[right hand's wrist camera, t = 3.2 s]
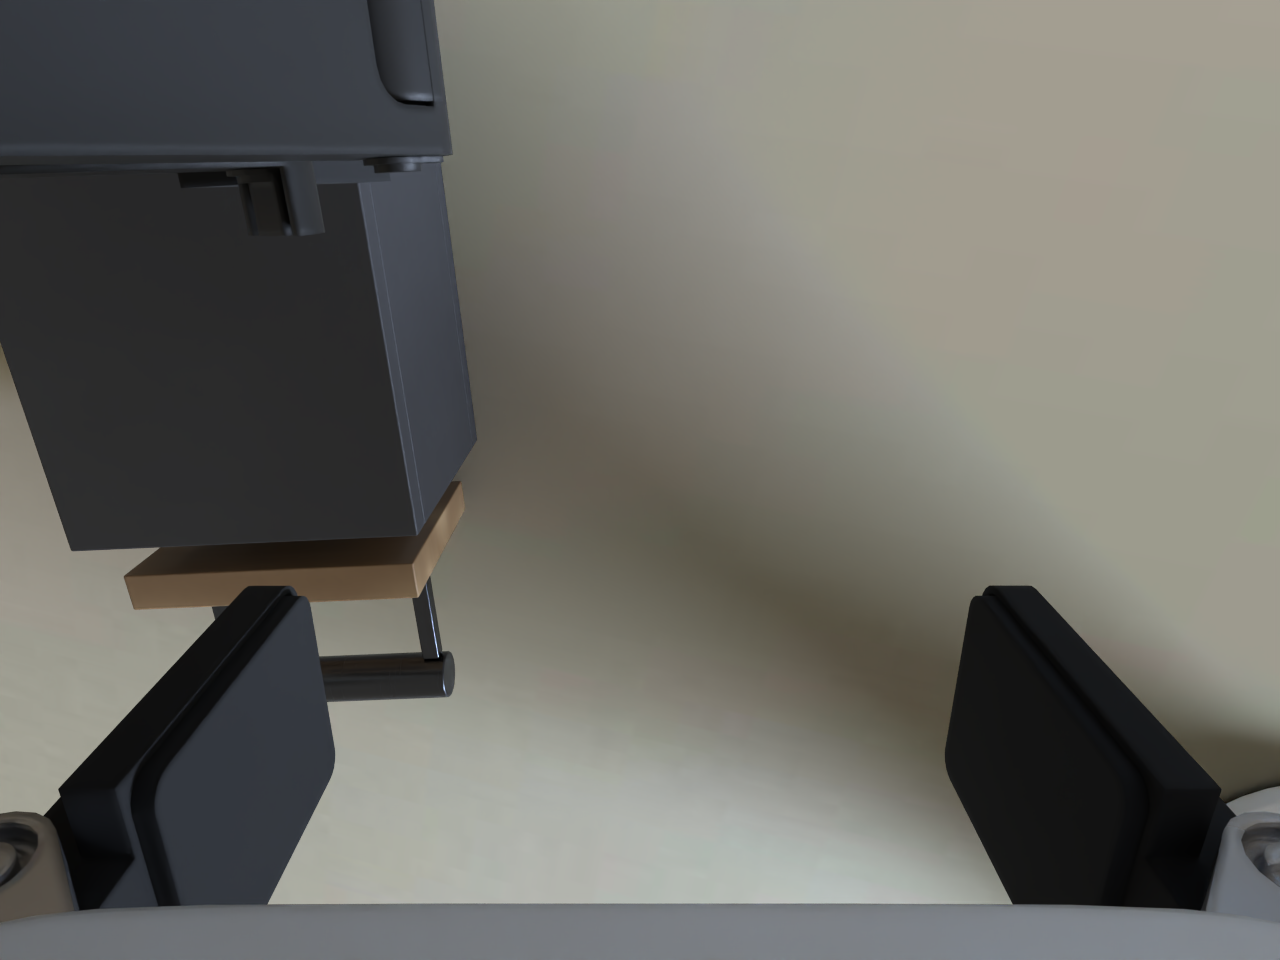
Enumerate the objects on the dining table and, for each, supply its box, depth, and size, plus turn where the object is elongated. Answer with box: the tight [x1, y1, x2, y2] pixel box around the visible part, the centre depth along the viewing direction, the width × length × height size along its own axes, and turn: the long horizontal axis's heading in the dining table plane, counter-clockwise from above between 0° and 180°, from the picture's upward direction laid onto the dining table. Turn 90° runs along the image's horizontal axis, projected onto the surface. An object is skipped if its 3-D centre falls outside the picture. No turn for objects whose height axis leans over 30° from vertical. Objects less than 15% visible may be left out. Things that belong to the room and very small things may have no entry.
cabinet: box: [0, 163, 477, 551], centre depth 25 cm, size 16×10×9 cm, turn 3°
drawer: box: [124, 481, 465, 702], centre depth 27 cm, size 20×9×7 cm, turn 3°
